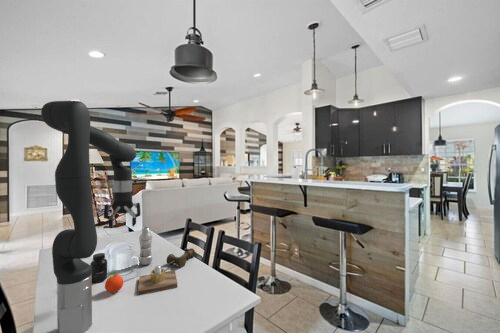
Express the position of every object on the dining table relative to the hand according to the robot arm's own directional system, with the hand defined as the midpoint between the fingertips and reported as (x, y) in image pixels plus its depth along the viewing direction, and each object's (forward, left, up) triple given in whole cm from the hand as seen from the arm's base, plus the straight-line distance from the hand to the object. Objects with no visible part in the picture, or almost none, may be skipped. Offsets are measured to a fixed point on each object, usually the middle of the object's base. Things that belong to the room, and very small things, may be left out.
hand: (122, 226), depth 103 cm
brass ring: (-3, -14, -26) cm, 29 cm away
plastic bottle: (+21, -9, -27) cm, 36 cm away
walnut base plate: (-3, -15, -27) cm, 31 cm away
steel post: (-3, -15, -26) cm, 30 cm away
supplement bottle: (+11, +11, -27) cm, 32 cm away
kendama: (+16, -27, -28) cm, 42 cm away
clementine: (-3, +3, -27) cm, 28 cm away
